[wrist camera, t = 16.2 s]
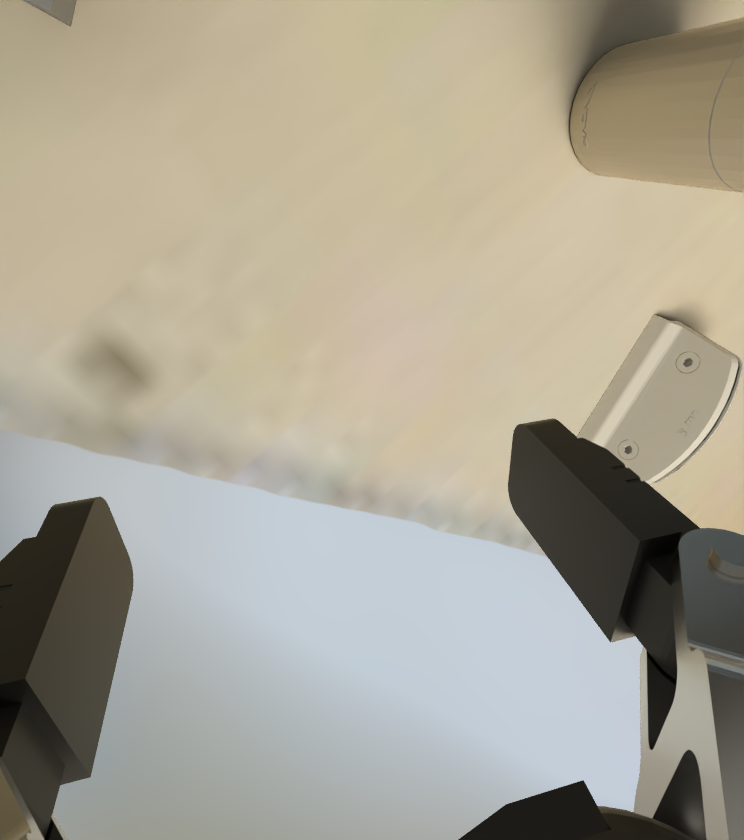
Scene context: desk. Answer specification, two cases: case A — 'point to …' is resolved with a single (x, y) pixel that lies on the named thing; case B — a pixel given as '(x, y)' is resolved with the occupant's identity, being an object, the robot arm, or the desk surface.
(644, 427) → the hinge
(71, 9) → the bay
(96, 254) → the desk surface
